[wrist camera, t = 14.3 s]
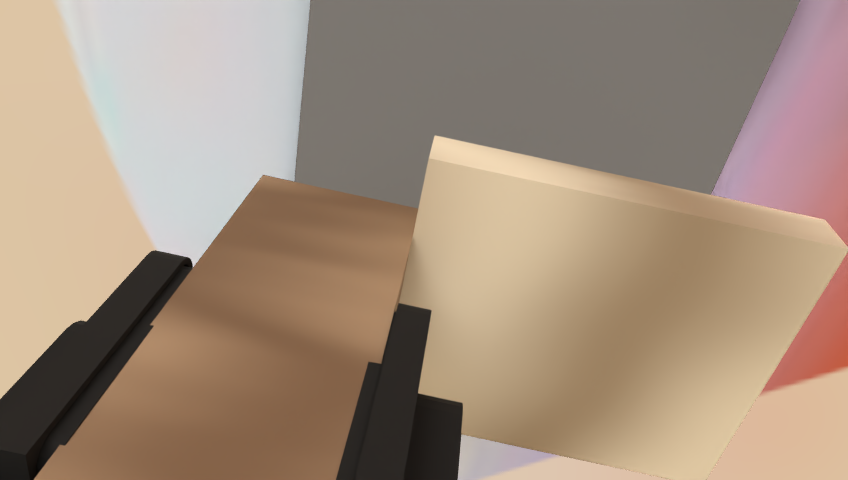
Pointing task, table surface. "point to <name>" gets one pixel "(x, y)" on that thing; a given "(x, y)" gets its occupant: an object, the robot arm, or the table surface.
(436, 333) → the wooden block pair
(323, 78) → the mat
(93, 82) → the table surface
